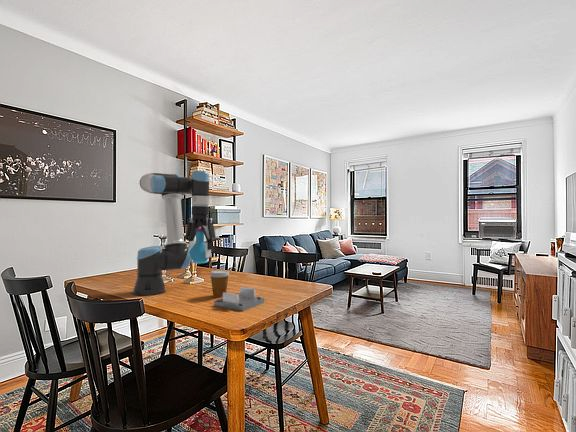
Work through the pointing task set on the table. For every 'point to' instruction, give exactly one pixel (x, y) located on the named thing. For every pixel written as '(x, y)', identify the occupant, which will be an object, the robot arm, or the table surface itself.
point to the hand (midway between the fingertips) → (200, 256)
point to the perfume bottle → (198, 248)
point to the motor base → (239, 300)
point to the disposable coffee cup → (219, 282)
